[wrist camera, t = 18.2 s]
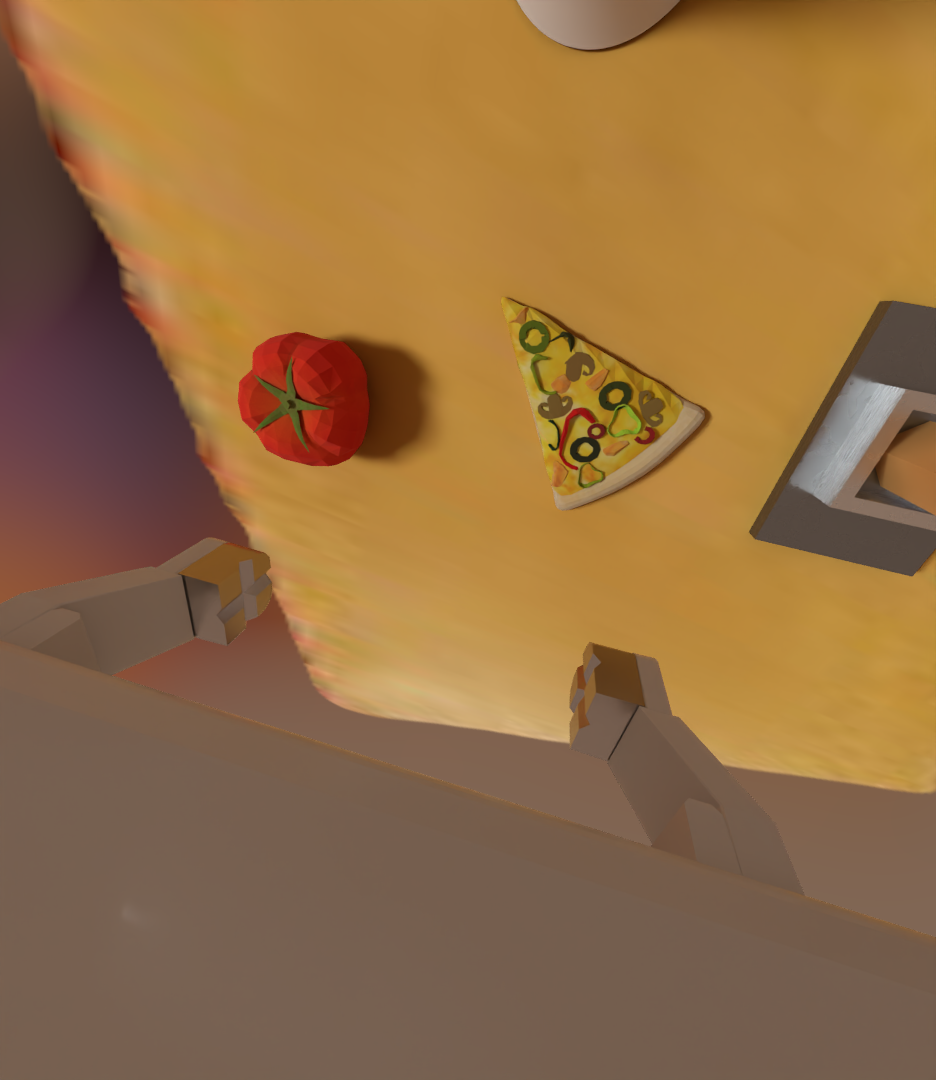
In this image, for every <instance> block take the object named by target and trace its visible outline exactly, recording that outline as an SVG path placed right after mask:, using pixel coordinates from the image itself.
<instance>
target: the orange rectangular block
mask: <svg viewBox="0 0 936 1080" xmlns="http://www.w3.org/2000/svg"><path fill="white" fill-rule="evenodd" d="M875 469H876V472H877V476H878V479H879V483H880V486H881V487H883V488H885V489H887V490H888V491H890V492H892V493H894V494H896V495H898V496H900V497H902V498H903V499H905V500H907V501H909V502H911V503H913V504H915V505H917V506H918V507H920V508H922V509H924V510H926V511H928V512H930V513H932V514H933V515H935V516H936V422H932V421H929V422H926V423H924V424H921V425H919V426H916V427H914V428H911V429H909V430H906V431H904V432H901V433H899V434H897V435H896V436H895V438H894V439H893V440H892V442H891V443H890V445H889V446H888V448H887V449H886V451H885V452H884V454H883V455H882V457H881V458H880V460H879V461H878V463H877V464H876V466H875Z"/></svg>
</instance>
